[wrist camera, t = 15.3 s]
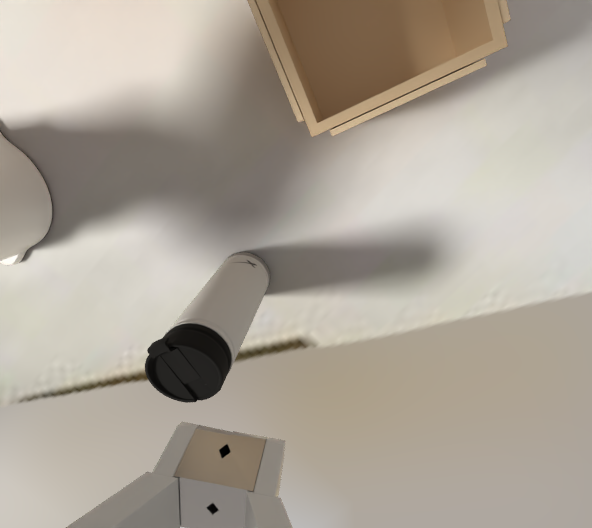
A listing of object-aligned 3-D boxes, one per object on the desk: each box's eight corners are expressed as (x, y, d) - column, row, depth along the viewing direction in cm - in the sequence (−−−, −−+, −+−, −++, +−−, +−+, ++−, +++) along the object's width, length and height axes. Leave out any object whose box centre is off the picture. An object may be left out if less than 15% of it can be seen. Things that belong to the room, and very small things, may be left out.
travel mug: (253, 240, 45) (187, 330, 26) (279, 285, 47) (235, 398, 28) (211, 261, 47) (122, 359, 28) (238, 304, 48) (171, 421, 30)
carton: (317, 139, 39) (308, 147, 30) (252, -21, 35) (218, -69, 26) (474, 66, 35) (518, 50, 26) (424, -128, 31) (457, -230, 21)
